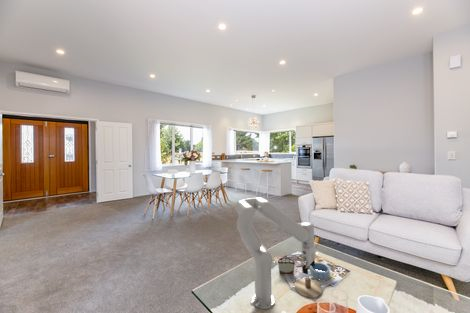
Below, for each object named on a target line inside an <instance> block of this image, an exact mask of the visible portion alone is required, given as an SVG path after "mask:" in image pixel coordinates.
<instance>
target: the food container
mask: <svg viewBox="0 0 470 313" xmlns="http://www.w3.org/2000/svg"><path fill="white" fill-rule="evenodd" d="M277 265H278V273H279V275H285V274H294V275H295V266H296V262H295V260H294V259H293V258H291V257H285V256H283V257H280V258H278V260H277Z"/></svg>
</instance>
